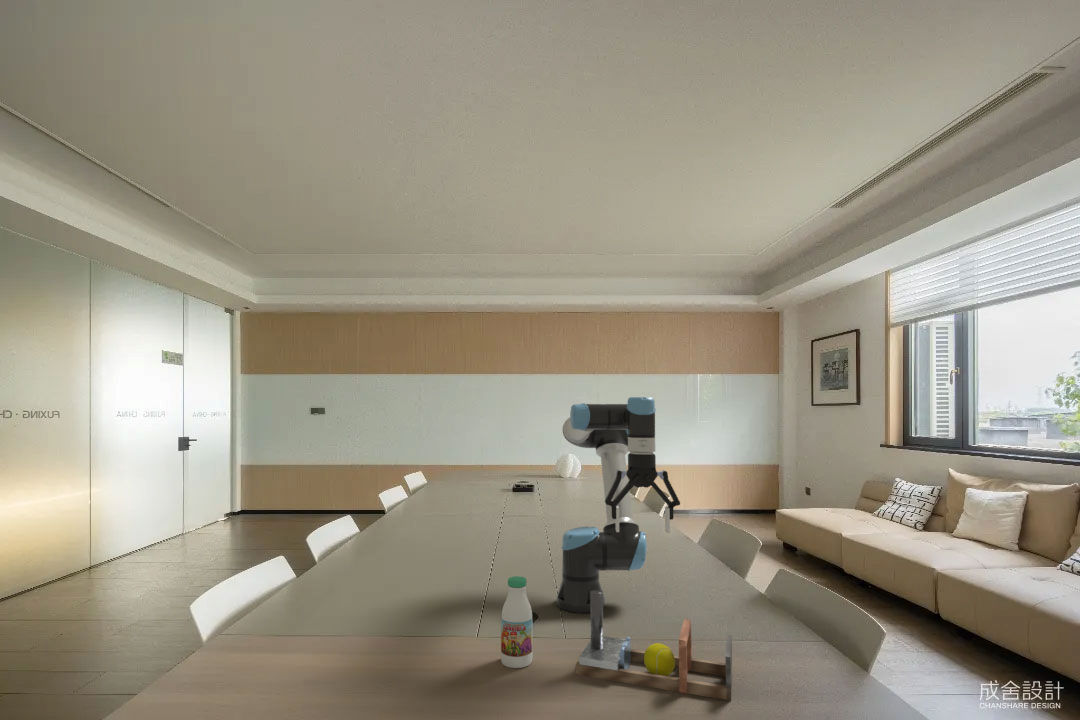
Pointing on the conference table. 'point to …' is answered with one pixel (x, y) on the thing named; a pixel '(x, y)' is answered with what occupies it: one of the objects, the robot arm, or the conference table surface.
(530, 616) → the milk bottle
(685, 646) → the lane
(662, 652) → the tennis ball
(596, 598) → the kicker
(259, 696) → the conference table surface
